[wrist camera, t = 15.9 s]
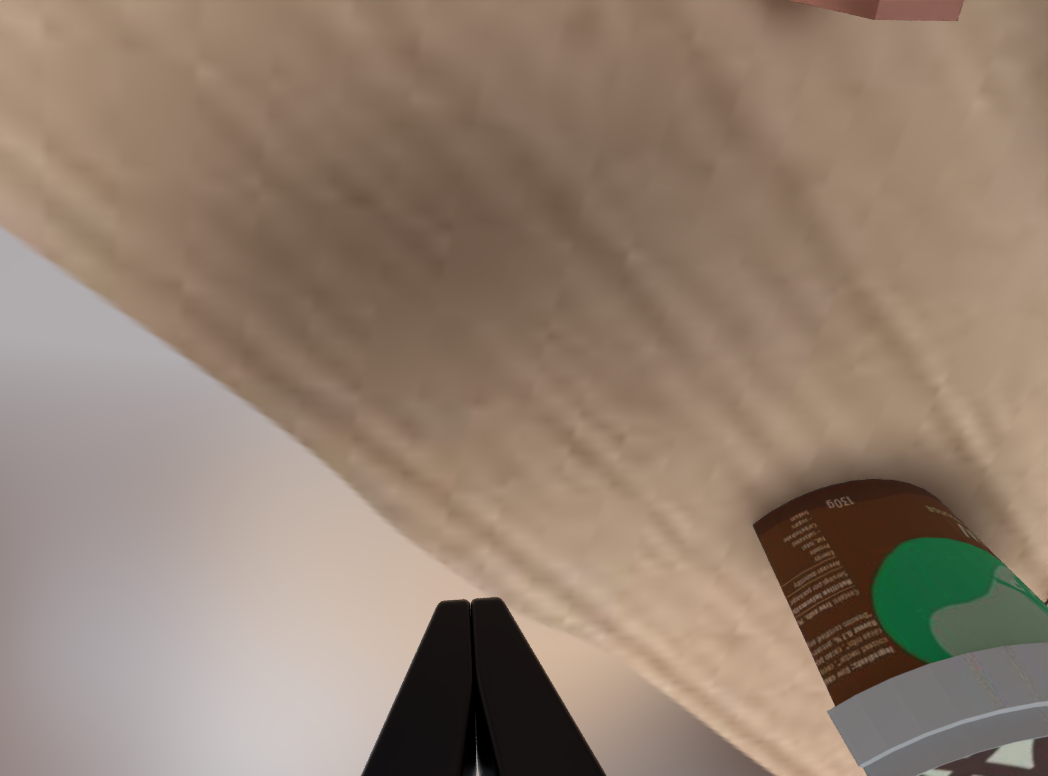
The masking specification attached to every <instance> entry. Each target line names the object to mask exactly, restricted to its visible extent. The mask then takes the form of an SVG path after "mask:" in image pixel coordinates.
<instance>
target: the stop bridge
mask: <svg viewBox="0 0 1048 776" xmlns="http://www.w3.org/2000/svg"><path fill="white" fill-rule="evenodd" d="M791 1H796V2H800V3H804V4H808V5H813V6H817V7H821V8H826V9H830V10H834V11H839V12H843V13H847V14H851V15H856V16H860V17H864V18H869V19H873V20H936V21H958V19H959V15H960V12H961V9H962V5H963V2H964V0H791Z"/></svg>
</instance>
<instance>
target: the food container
mask: <svg viewBox="0 0 1048 776" xmlns="http://www.w3.org/2000/svg"><path fill="white" fill-rule="evenodd" d="M753 527H754V529H755V531H756V534H757V536H758V538H759V540H760V542H761V545H762V547H763V549H764V551H765V553H766V555H767V558H768V560H769V562H770V564H771V566H772V569H773V571H774V573H775V575H776V577H777V580H778V582H779V584H780V586H781V588H782V591H783V593H784V595H785V597H786V599H787V601H788V604H789V606H790V608H791V610H792V612H793V615H794V617H795V619H796V621H797V623H798V626H799V628H800V630H801V632H802V634H803V637H804V639H805V641H806V643H807V645H808V648H809V650H810V652H811V654H812V656H813V658H814V661H815V663H816V665H817V667H818V669H819V672H820V674H821V676H822V678H823V680H824V683H825V685H826V687H827V689H828V691H829V694H830V696H831V698H832V700H833V702H834V704H835V707H834V708H832V709H831V710H829V711H827V713H828V714H829V716H830V718H831V720H832V721H833V723H834V725H835V726H836V728H837V730H838V732H839V733H840V735H841V737H842V739H843V740H844V742H845V744H846V745H847V747H848V749H849V751H850V752H851V754H852V756H853V758H854V759H855V761H856V763H857V764H858V766H859V767H862V768H863V769H864V770H865V772H866V774H867V776H1048V607H1047V606H1046V605H1045V604H1044V603H1043V602H1042V601H1041V600H1040V599H1039V598H1038V597H1037V596H1036V595H1035V594H1034V593H1033V592H1032V591H1031V590H1030V589H1029V588H1028V587H1027V586H1026V585H1025V584H1024V583H1023V582H1022V581H1021V580H1020V579H1019V578H1018V577H1017V576H1016V575H1015V574H1014V573H1013V572H1012V571H1011V570H1010V569H1009V568H1008V567H1007V566H1006V565H1005V564H1004V563H1002V562H1001V561H1000V560H999V559H998V558H997V557H996V556H995V555H994V554H993V553H992V552H991V551H990V550H989V549H988V548H987V547H986V546H985V545H984V544H983V543H982V542H981V541H980V540H979V539H978V538H977V537H976V536H975V535H974V534H973V533H972V532H971V531H970V530H969V529H968V528H967V527H966V526H965V525H964V524H963V523H962V522H961V521H960V520H959V519H958V518H957V517H956V516H955V515H954V514H953V513H952V512H951V511H950V510H949V509H948V508H947V507H946V506H944V505H943V504H942V503H941V502H940V501H939V500H938V499H937V498H936V497H935V496H934V495H932V494H930V493H929V492H927V491H926V490H924V489H922V488H920V487H917V486H915V485H912V484H909V483H905V482H900V481H894V480H880V479H869V480H858V481H850V482H845V483H840V484H835V485H831V486H828V487H825V488H822V489H818V490H815V491H812V492H810V493H807V494H805V495H803V496H800V497H798V498H796V499H794V500H791V501H789V502H788V503H786V504H784V505H782V506H781V507H779V508H777V509H775V510H774V511H772V512H770V513H769V514H768V515H766V516H765V517H763V518H762V519H761V520H759V521H758V522H756V523H755V524H754V525H753Z"/></svg>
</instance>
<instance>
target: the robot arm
mask: <svg viewBox="0 0 1048 776" xmlns="http://www.w3.org/2000/svg"><path fill="white" fill-rule="evenodd" d="M476 746H477V760H478V772H479V776H606V774H605V772H604V771H603V769H602V767H601V765H600V764H599V762H598V760H597V759H596V757H595V756H594V754H593V752H592V750H591V749H590V747H589V745H588V744H587V742H586V740H585V738H584V737H583V735H582V733H581V732H580V730H579V728H578V727H577V725H576V723H575V721H574V720H573V718H572V716H571V715H570V713H569V712H568V710H567V708H566V706H565V704H564V703H563V701H562V699H561V698H560V696H559V694H558V693H557V691H556V689H555V687H554V686H553V684H552V682H551V681H550V679H549V677H548V676H547V674H546V673H545V671H544V669H543V667H542V665H541V664H540V662H539V660H538V659H537V657H536V655H535V654H534V652H533V650H532V648H531V647H530V645H529V643H528V642H527V640H526V638H525V637H524V635H523V633H522V632H521V630H520V628H519V626H518V625H517V623H516V621H515V620H514V618H513V616H512V615H511V613H510V611H509V609H508V608H507V606H506V604H505V603H504V601H503V600H502V599H501V598H499V597H491V598H477V599H474V600H472V602H471V609H470V603H469V601H467V600H465V599H462V600H447V601H441V602H440V603H439V604H438V605H437V607H436V609H435V612H434V614H433V616H432V618H431V620H430V622H429V625H428V627H427V629H426V631H425V634H424V636H423V638H422V640H421V643H420V645H419V647H418V649H417V652H416V654H415V656H414V658H413V660H412V663H411V665H410V667H409V669H408V672H407V674H406V676H405V678H404V681H403V683H402V685H401V688H400V690H399V692H398V694H397V696H396V699H395V701H394V703H393V705H392V708H391V710H390V712H389V714H388V716H387V719H386V721H385V723H384V725H383V728H382V730H381V732H380V734H379V737H378V739H377V741H376V743H375V746H374V748H373V750H372V752H371V754H370V757H369V759H368V761H367V763H366V766H365V768H364V770H363V773H362V775H361V776H476V771H477V770H476V769H477V768H476V767H477V764H476Z"/></svg>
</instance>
